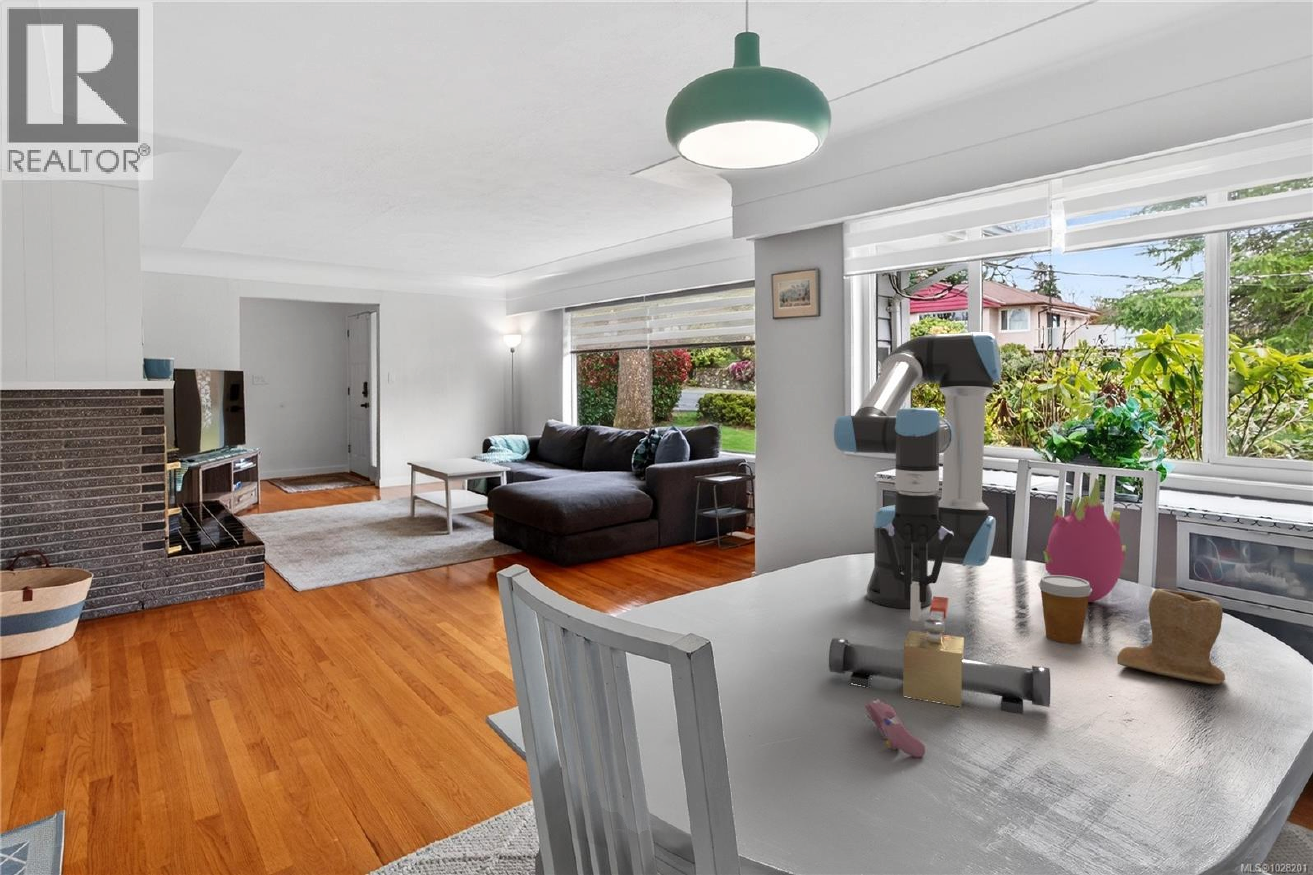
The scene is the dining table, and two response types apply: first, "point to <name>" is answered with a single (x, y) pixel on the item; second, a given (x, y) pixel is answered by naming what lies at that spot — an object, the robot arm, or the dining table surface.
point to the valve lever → (937, 615)
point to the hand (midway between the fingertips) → (915, 618)
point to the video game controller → (893, 729)
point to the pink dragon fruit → (1087, 545)
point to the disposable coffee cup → (1064, 606)
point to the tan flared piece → (1179, 638)
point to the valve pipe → (940, 671)
